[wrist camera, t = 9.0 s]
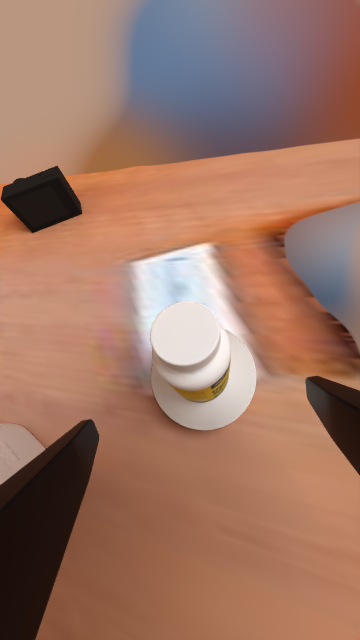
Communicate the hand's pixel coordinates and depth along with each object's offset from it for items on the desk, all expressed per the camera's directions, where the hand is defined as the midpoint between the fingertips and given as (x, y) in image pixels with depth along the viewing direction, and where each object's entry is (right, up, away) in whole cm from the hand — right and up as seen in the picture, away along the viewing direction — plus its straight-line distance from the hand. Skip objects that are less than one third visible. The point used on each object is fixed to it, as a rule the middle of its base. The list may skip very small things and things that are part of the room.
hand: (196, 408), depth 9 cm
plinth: (+2, -2, +14) cm, 14 cm away
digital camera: (-25, +24, +34) cm, 49 cm away
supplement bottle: (+1, -2, +12) cm, 12 cm away
